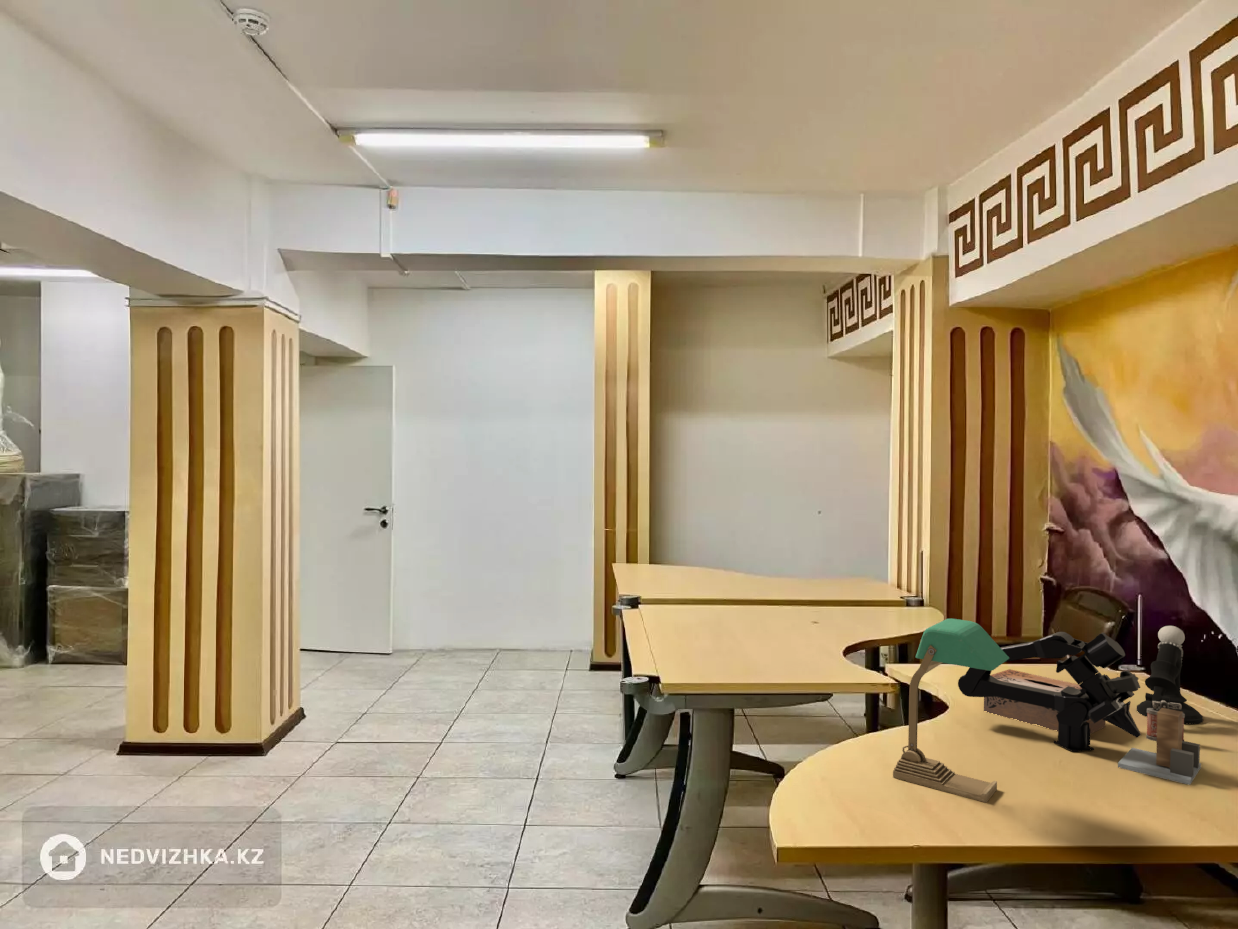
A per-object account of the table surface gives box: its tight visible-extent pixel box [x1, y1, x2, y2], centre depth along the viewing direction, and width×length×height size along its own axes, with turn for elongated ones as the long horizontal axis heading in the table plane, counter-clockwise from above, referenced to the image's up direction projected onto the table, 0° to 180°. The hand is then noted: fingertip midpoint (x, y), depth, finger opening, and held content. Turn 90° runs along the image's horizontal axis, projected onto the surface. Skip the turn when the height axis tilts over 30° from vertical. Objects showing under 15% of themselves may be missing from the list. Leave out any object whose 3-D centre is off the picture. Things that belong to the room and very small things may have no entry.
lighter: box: [1145, 700, 1185, 742], centre depth 201 cm, size 8×3×10 cm, turn 62°
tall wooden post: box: [1155, 708, 1183, 768], centre depth 182 cm, size 4×5×12 cm
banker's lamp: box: [892, 618, 1009, 803], centre depth 172 cm, size 16×21×35 cm
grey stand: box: [1117, 740, 1202, 786], centre depth 183 cm, size 14×14×6 cm
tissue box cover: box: [983, 668, 1106, 735], centre depth 217 cm, size 26×14×10 cm, turn 38°
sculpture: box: [1136, 625, 1204, 725], centre depth 218 cm, size 15×24×25 cm, turn 134°
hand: (1139, 736), depth 186 cm, fingers closed
